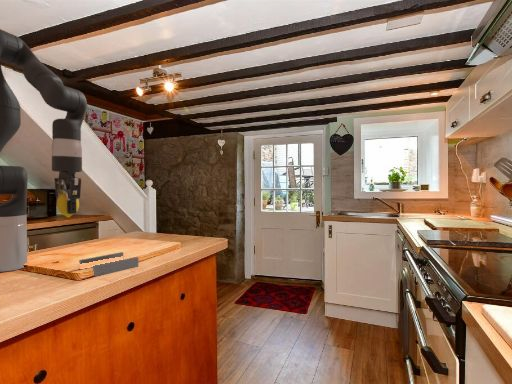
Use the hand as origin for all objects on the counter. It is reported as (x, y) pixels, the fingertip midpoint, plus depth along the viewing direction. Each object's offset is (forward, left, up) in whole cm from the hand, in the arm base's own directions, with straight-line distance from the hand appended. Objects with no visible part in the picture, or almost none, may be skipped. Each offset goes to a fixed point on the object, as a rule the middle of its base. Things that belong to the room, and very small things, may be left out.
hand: (67, 212), depth 86 cm
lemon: (0, 0, -2) cm, 2 cm away
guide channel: (0, +12, -19) cm, 23 cm away
